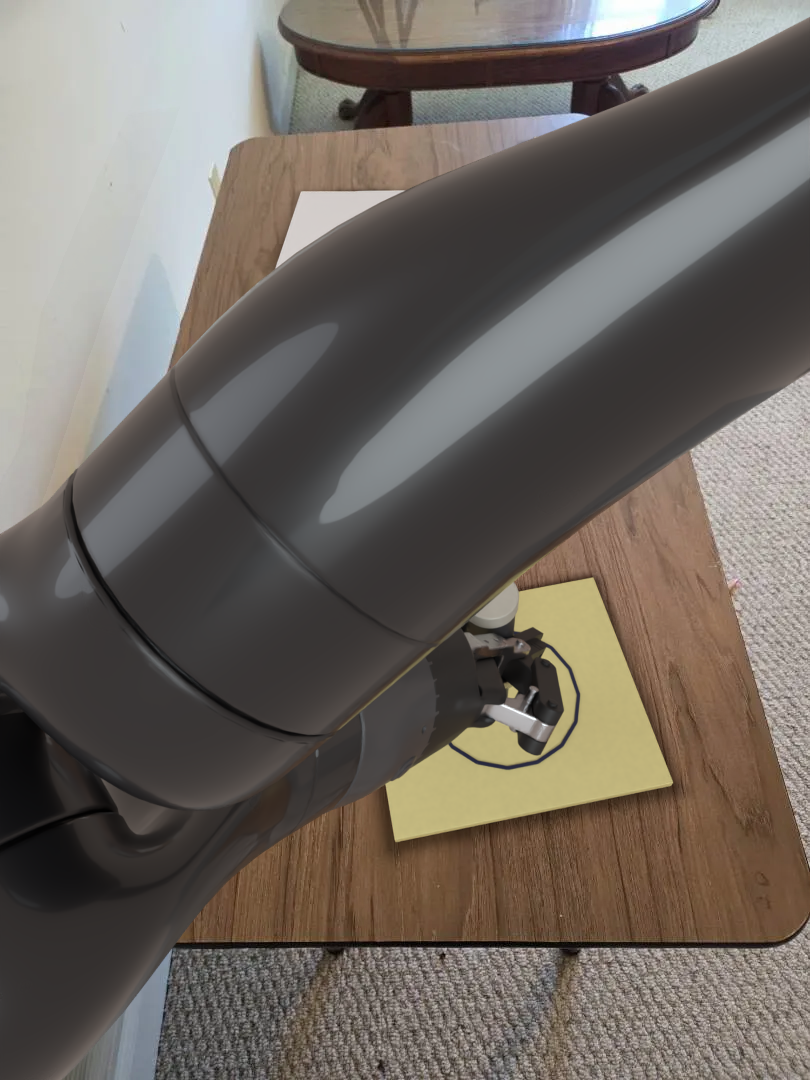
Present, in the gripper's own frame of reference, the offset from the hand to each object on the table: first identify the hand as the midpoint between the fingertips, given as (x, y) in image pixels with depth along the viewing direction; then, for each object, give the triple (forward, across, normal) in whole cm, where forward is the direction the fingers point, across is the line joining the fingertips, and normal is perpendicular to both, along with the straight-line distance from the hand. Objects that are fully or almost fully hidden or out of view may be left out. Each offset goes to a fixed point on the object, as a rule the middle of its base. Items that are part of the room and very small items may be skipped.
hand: (506, 630), depth 47 cm
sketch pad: (+7, 0, +7) cm, 10 cm away
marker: (+3, 0, +6) cm, 6 cm away
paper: (+31, +43, -18) cm, 56 cm away
